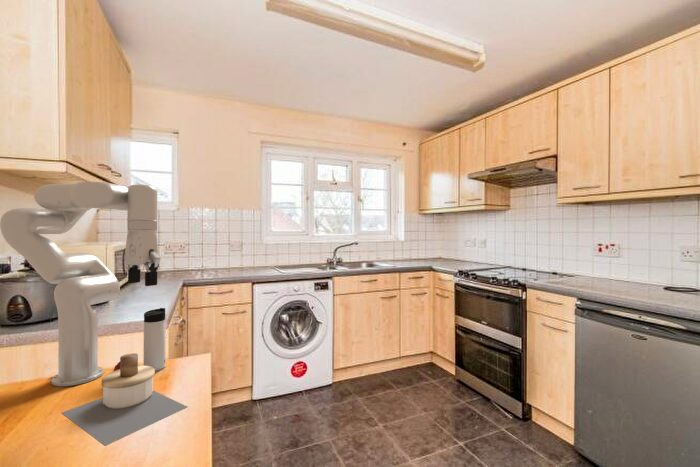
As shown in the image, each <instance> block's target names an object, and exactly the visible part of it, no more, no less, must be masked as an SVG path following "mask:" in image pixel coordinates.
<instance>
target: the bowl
mask: <svg viewBox="0 0 700 467" xmlns="http://www.w3.org/2000/svg"><path fill="white" fill-rule="evenodd" d="M102 387H103V386H102ZM153 390H154V376H153V377H152V378H151V379H149V380H148V381H145V382H143V383H141V384H138V385H134V386H130V387H125V388H105V387H103V388H102V398H103V404H105V405H106V406H107V407H108V408H113V409H119V408H126V407H131V406H134V405H137V404H140V403H142V402H144V401H145V400H147V399H148V398H149V397H150V396H151V395H152V392H153Z"/></svg>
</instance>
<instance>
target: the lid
mask: <svg viewBox="0 0 700 467" xmlns="http://www.w3.org/2000/svg"><path fill="white" fill-rule="evenodd" d="M119 358H120V359H119V360H120V361H119V362H120V369H119V370H116V371H110V372H109V373H107V374H105V375H104V376H103V377H101V387H105V388H125V387H130V386H134V385H138V384H141V383H143V382H145V381H148V380H149V379H151V378H152V377H153V378H154V376H155V374H156V372H155V369H154V368H153V367H151V366H144V365H139V354H138V353H126V354H123V355H121V356H120V357H119Z"/></svg>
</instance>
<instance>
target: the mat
mask: <svg viewBox="0 0 700 467" xmlns="http://www.w3.org/2000/svg"><path fill="white" fill-rule="evenodd" d="M186 408H187V409H188V406H186V405H184V404H183V403H181V402H178V401H177V400H174V399H172V398H170V397H168V396H166V395H164V394H162V393H160V392H157V391H156V390H154V389H153V392H152V395H151V396H150V397H149V398H148V399H147V400H145V401H144V402H142V403H140V404H137V405H134V406H131V407H126V408H119V409H113V408H108V407H107V406H106V405H105V404H103V397H100V398H98V399H96V400H93V401H90V402H87V403H84V404H82V405H78V406H75V407H73V408H70V409H67V410H65V411H62V412H61V414H62V415H63V416H65V417H66V418H67V419H69V420H70V421H72V422H73V423H74V424H75V425H77V426H78V427H79V428H80V429H82V430H83V431H85V432H86V433H87V434H89V435H90V436H91V437H92V438H93V439H95V440H96V441H98V443H101V444H102V446H104V447H106V446H108V445H111V444H112V443H115V442H117V441H119V440H121V439H123V438H125V437H127V436H129V435H130V436H131V435H132V434H134V433H135V432H138V431H140V430H142V429H144V428H147V427H149V426H151V425H153V424H155V423H157V422H159V421H161V420H163V419H165V418H168V417H169V416H172V415H174V414H176V413H178V412H181V411H182V410H185V409H186Z"/></svg>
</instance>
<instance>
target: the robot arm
mask: <svg viewBox="0 0 700 467" xmlns="http://www.w3.org/2000/svg"><path fill="white" fill-rule="evenodd" d="M33 198H34V200H35V203H36V204H37V205H38V206H40V207H41V208H36V207H35V208H34V207H18V208H13V209H10V210H7V211H6V212H5V213H3V214H2V215H1V218H0V233H1V235H2V238H3V239H4V241H5V242H6V243H7V244H8V245H9V246H10V247H11V248H12V249H13V250H14V251H15V252H17V253H18V254H19V255H20V256H21V257H23V258H24V259H25V260H26V261H27V262H28V263H29V264H30V266H31V267H32V268H33V269H34V270H35V271H36V272H37V274H39V276H40V277H41V278H42V279H43V280H44V281H45V282H47V283H48V284H52V285H53V284H54V285H56V286H55V288H54V290H53V291H54V292H53V298H54V302H55V306H56V310H57V322H58V326H57V327H58V351H57V352H58V358H57V359H58V360H57V361H58V374H56V375H55V376H53V377H52V379H51V382H50V383H51V385H52V386H54V387H72V386H77V385H82V384H86V383H89V382H92V381H93V380H96V379H98V378H99V377H101V376H102V375H103V374H104V368H103V367H102V366H98V365H99V364H98V359H99V358H98V357H99V356H98V355H99V354H98V351H99V349H98V348H99V347H98V346H99V345H98V344H99V342H98V340H99V339H98V338H99V336H98V335H99V333H98V330H99V327H98V326H99V325H98V317H97V314H96V313H95V311H94V310H93V309H92V306H93V305H97V304H101V303H105V302H109V301H112V300H114V299H116V298H117V297H118V296H119V294H120V291H121V284H120V282H119V280H118V278H117V277H116V276H115V274H114V273H113V272H112V271H111V270H110V269H109V268H108V267H107V266H106V265H105V264H104V263H103V261H101V260H100V259H99V258H98V257H97V256H95V255H93V254H91V253H88V252H87V253H86V252H75V253H74V252H73V253H71V252H65V251H63V249H61V248H60V247H59V246H58V245H57V243H55V241H53V240H51V239H50V238H47V237H45V236H43V235H62V234H65V233H67V232H69V231H70V230H72V228H73V227H74V226H75V225H76V224H77V223H78V222H79V221H80V220H81V218H83V217H84V215H85V214H86V213H87V212H88V211H89V210H91V209H102V210H103V209H104V210H118V211H127V235H126V241H125V256H124V262H125V263H126V265H127V266H126V268H127V283H128V284H134V283H135V284H136V283H140V282H141V269H140V266H143V267H144V268H145V272H144V286H145V287H151V286H152V287H153V286H157V285H158V272H159V267H160V262H161V256H160V255H159V251H158V250H159V247H158V245H159V244H158V237H157V232H158V190H157V187H155V186H153V185H149V184H132V185H124V184H123V185H122V184H116V183H112V182H111V183H110V182H103V181H78V182H77V183H50V184H45V185H41V186H39V187H38V188H37V189H36V190H35V191H34V194H33Z"/></svg>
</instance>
